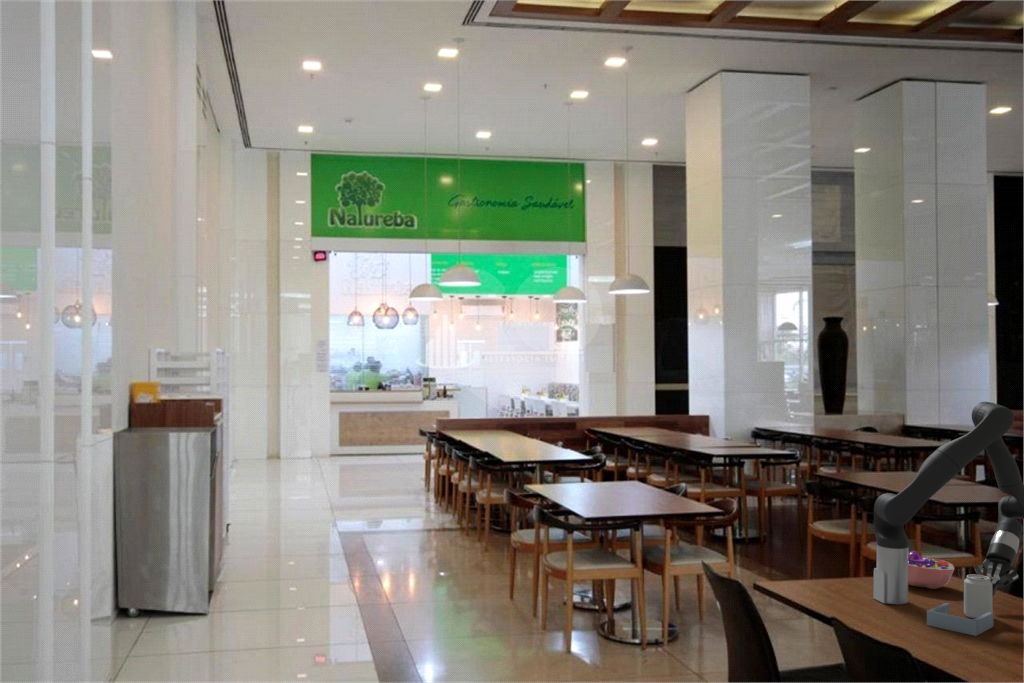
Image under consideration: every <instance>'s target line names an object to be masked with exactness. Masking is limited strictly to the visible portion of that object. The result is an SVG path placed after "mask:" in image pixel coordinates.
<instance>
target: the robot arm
mask: <svg viewBox="0 0 1024 683" xmlns="http://www.w3.org/2000/svg"><path fill="white" fill-rule="evenodd" d="M971 421H972V424H973V426H974V428H973V429H971V431H969V432H967V433H966V434H964V435H962V436H960V437H958V438H955V439H953V440H950V441H948V442H946V443H944V444H942V445H941V446H939V447H938V448H936V450H934V451H933V452H932V454H930V455H929V456H928V457H927V458H926V459H924V461H923V462H922V464H921V466H920V467H919V469H918V471H917V473H916V474H915V477H914V479H913V480H912V481H911V482H910V483H909V484H907V486H906V487H905V488H903V489H902V490H900V492H898V493H897V494H895V493H891V492H886V493H882V494H881V495H879V496H878V497H877V498H876V500H875V502H874V505H873V506H874V507H873V527H874V530H873V531H874V535H875V538H876V567H874V568H873V597H872V598H873V599H874V600H876V601H878V602H879V603H882V604H890V605H906V604H908V603H909V584H908V553H909V538H908V536H907V534H906V531H905V526H904V525H906V524H907V523H909V522H910V521H911V520H912V518H913V517H914V516H915V515H916V514H917V513H918V511H920V509H922V507H923V506H924V505H925V503H927V502H928V501H929V500H930V499H931V497H933V496H934V495H935V494H936V493H937V492H939V491H940V490H941V489H942V488H943V487H944V486H945V485H946V484H947V483H949V482H950V481H951V480H952V479H953V478H954V477H956V476H957V475H958V474H959V473H960V472H961V471H962V470H963V469H964V468H965V467H966V466H967V465H968V464H969V463H970V462H972V460H974V459H975V458H977V456H978V455H979V454H981V452H983V451H984V450H985V451H986V453H987V455H988V458H989V460H990V463H991V466H992V470H993V472H994V477H995V480H996V483H997V486H998V489H999V491H1000V492H1001V493H1003V494H1006V495H1007V496H1002V497H1001V498H1000V499H999V501H998V504H997V509H998V510H997V511H998V516H997V517H998V519H997V526H996V530H995V533H994V535H993V536H992V538H991V541H990V544H989V547H988V549H987V550H988V551H987V553H986V556H985V559H984V560H983V562H982V563H981V564H979V565H978V564H974V565H973V568H974V571H975V573H976V575H983V573H984V571H985V573H986V576H987V577H989V578H990V581H991V582H992V597H994V596H996V592H997V589H998V588H1003V589H1004V588H1005V587H1007V586H1009V585H1011V584H1012V583H1013V582H1015V581H1017V580H1018V579H1019V578H1020V577H1019V574H1018V572H1017V571H1014V568H1013V566H1014V563H1015V559H1016V556H1017V554H1018V552H1019V551H1018V550H1019V546H1020V540H1021V538H1022V534H1023V531H1024V527H1023V524H1022V523H1021V522H1020V521H1019V520H1024V482H1023V480H1022V476H1021V472H1020V469H1019V466H1018V464H1017V461H1016V460H1015V458H1014V456H1013V455H1012V452H1010V450H1009V449H1008V447H1007V445H1006V443H1005V442H1004V439H1003V436H1004V435H1006V434H1007V433H1008V432H1009V431H1010V430H1011V428H1012V426H1013V425H1014V422H1015V415H1014V412H1013V411H1012V410H1011V409H1010V408H1009V407H1006V406H1004V405H1002V404H1001V405H1000V404H998V403H994V402H991V401H981V402H978V403H977V404H976V405H975V406H974V407H973V409H972V411H971ZM983 576H984V575H983Z"/></svg>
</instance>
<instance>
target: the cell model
mask: <svg viewBox="0 0 1024 683" xmlns="http://www.w3.org/2000/svg"><path fill="white" fill-rule="evenodd" d="M954 571H955V566H954V564H952V563H951V562H948V561H946V560H943V559H937V558H931V557H924V556H922V555H921V553H920V552H918V551H917V550H912V551H910V552H909V551H908V586H913V587H919V588H926V589H927V588H928V589H932V590H936V589H940V588H942V587H945V586H946V585H947V584H948V583H949V582H950V580H951V578H952V575H953V573H954Z"/></svg>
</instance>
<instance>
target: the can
mask: <svg viewBox="0 0 1024 683" xmlns="http://www.w3.org/2000/svg"><path fill="white" fill-rule="evenodd" d="M987 612H993V596H992V582H991V581H990V578H989V577H987V575H978V574H974V573H973V574H967V575H966V578H965V579H964V580H963V613H964V614H965V616H966V618H968V619H975V618H977V617H979V616H981V615H983V614H985V613H987Z"/></svg>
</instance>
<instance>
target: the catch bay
mask: <svg viewBox="0 0 1024 683" xmlns="http://www.w3.org/2000/svg"><path fill="white" fill-rule="evenodd" d="M926 626H929V627H934V628H938V629H943V630H947V631H952V632H955V633H956V632H957V633H961V634H965V635H966V634H967V635H970V636H974V637H977V636H979V635H981V634H983V633H984V632H987V631H988V630H990V629H992V628H994V612H993V611H992V612H987V613H985V614H983V615H981V616H979V617H977V618H975V619H972V618H969V617H963V616H957V615H953V614H950V603H949V602H944V603H941V604H939V605H937V606H934V607H932V608H930V609H928V610H926Z"/></svg>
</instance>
